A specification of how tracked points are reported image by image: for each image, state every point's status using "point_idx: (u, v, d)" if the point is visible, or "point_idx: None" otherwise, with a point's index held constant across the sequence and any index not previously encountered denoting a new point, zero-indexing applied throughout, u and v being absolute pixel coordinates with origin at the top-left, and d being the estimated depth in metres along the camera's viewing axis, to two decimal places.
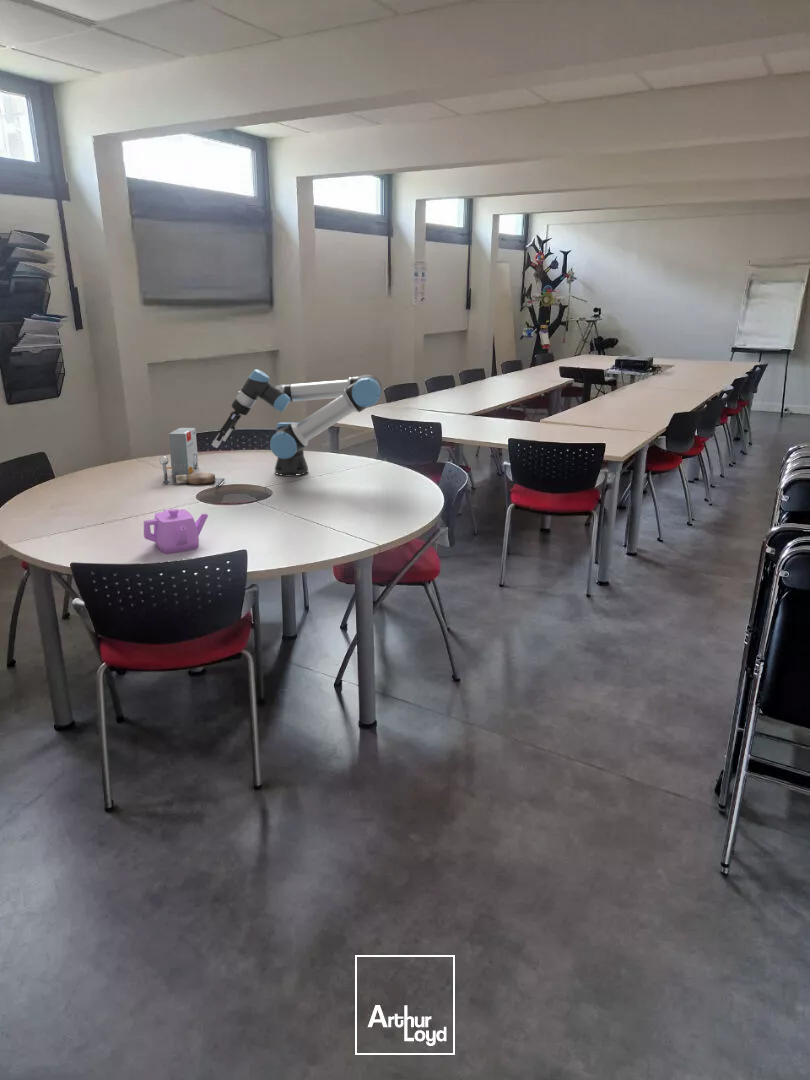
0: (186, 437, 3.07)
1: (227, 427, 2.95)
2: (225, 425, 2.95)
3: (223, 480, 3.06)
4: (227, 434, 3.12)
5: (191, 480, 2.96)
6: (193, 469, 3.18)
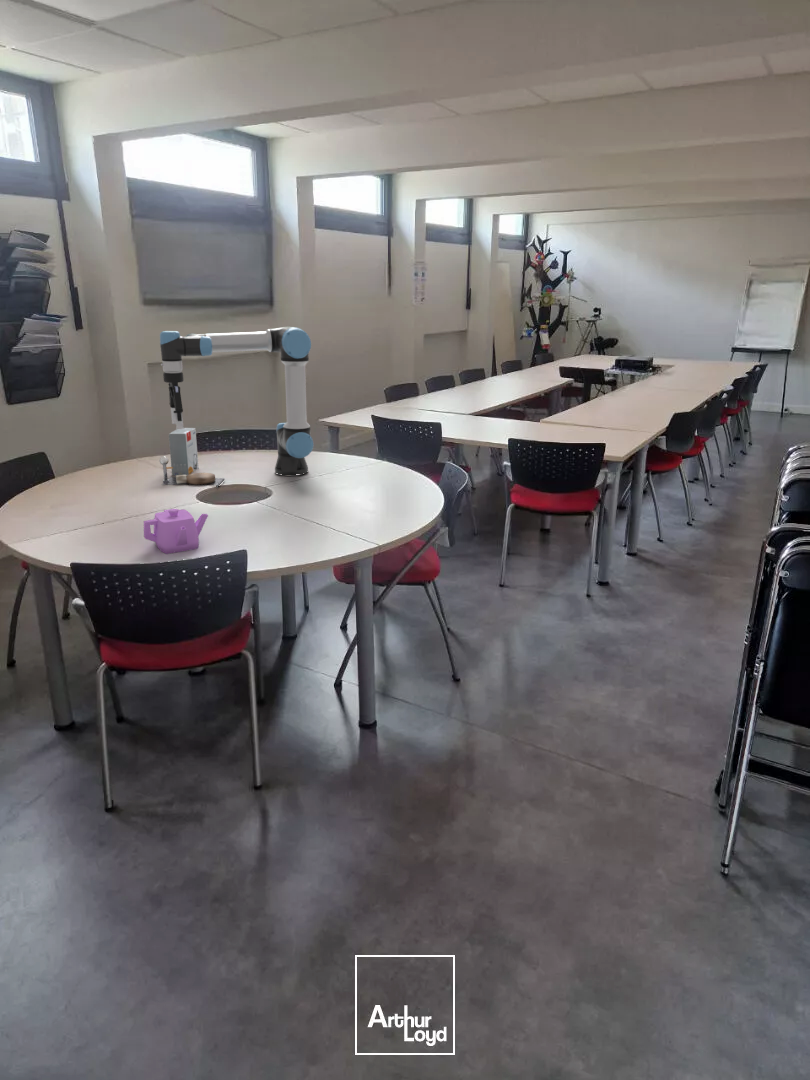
0: (186, 437, 3.07)
1: (180, 402, 2.76)
2: (176, 401, 2.75)
3: (223, 480, 3.06)
4: None
5: (191, 480, 2.96)
6: (193, 469, 3.18)
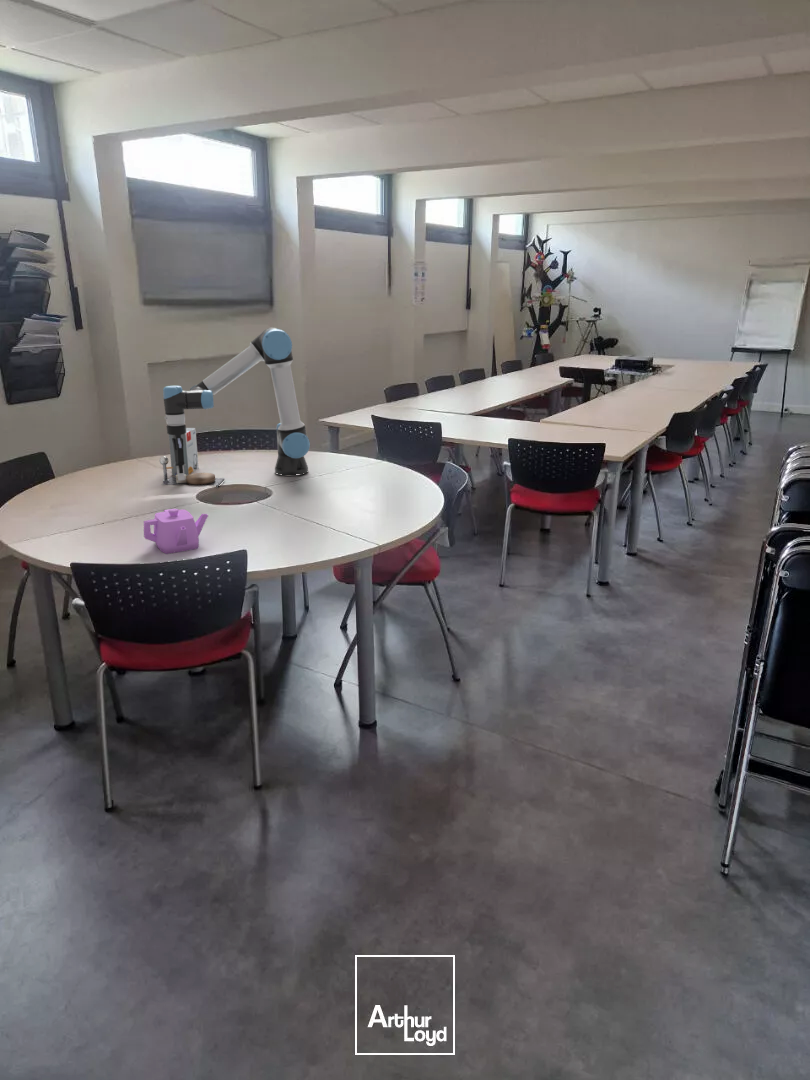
0: (186, 437, 3.07)
1: (182, 457, 2.91)
2: (179, 456, 2.90)
3: (223, 480, 3.06)
4: None
5: (190, 480, 2.97)
6: (193, 469, 3.18)
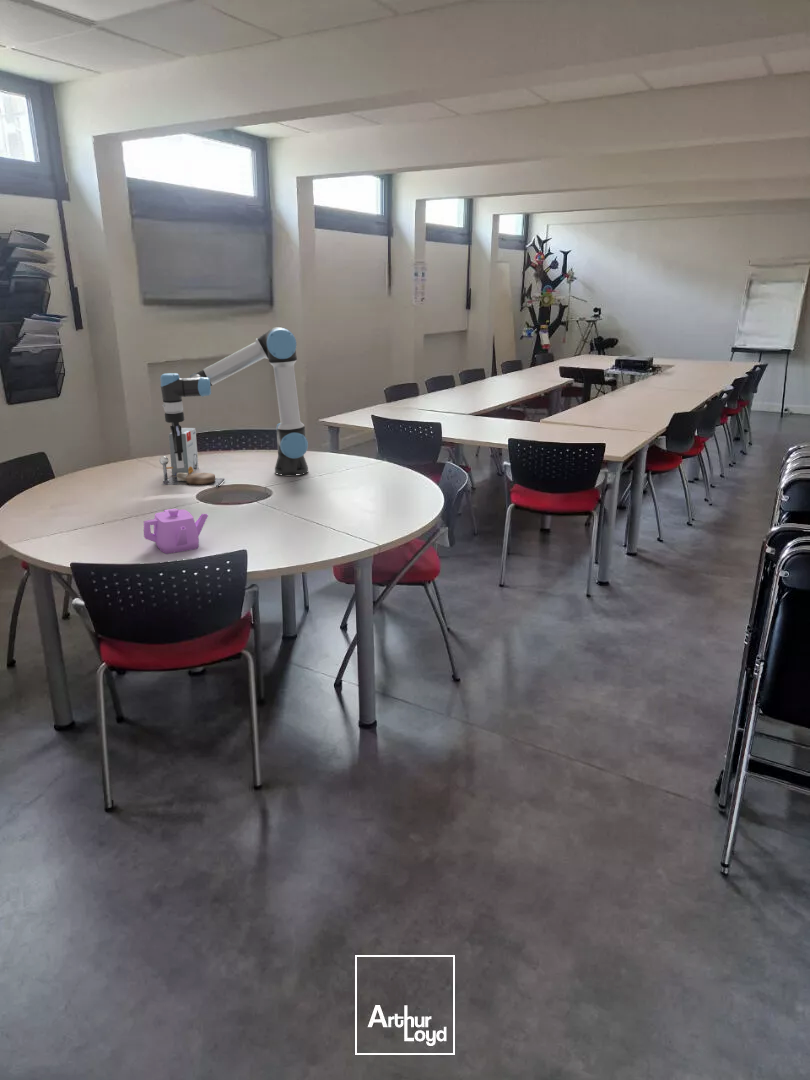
0: (186, 437, 3.07)
1: (180, 444, 2.91)
2: (177, 444, 2.91)
3: (223, 480, 3.06)
4: None
5: (187, 479, 2.98)
6: (193, 469, 3.18)
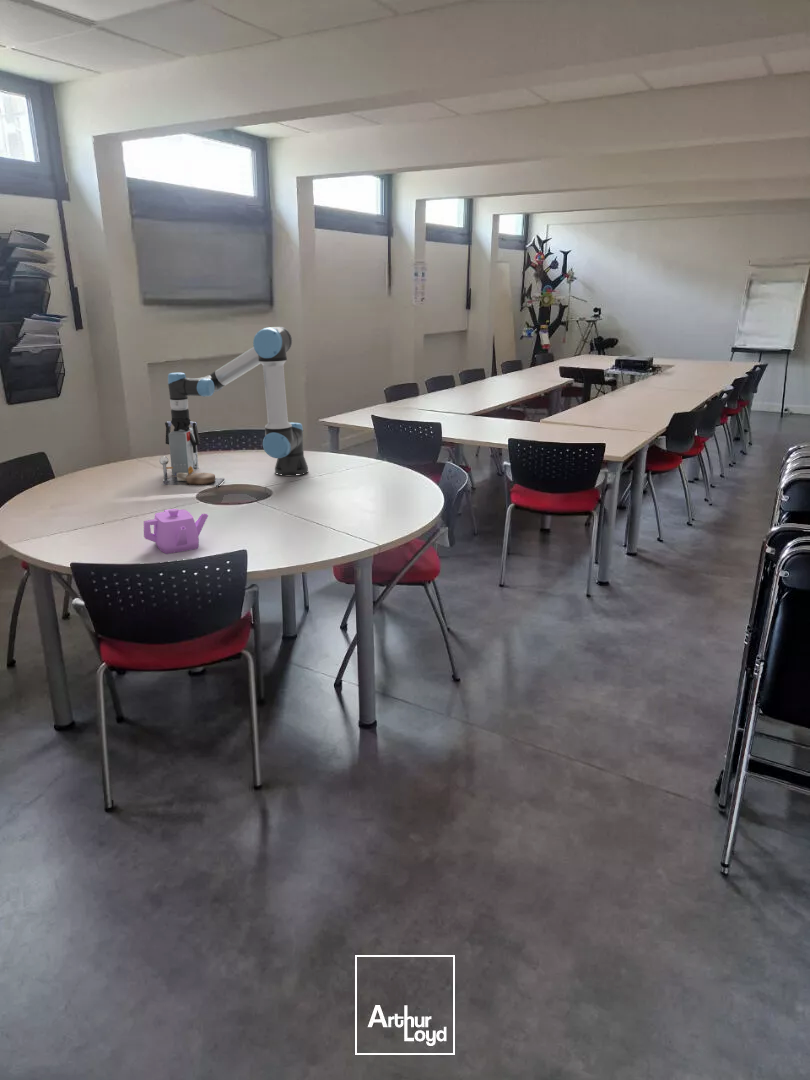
0: (186, 437, 3.07)
1: (198, 435, 3.14)
2: (197, 435, 3.13)
3: (223, 480, 3.06)
4: None
5: (187, 479, 2.98)
6: (193, 469, 3.18)
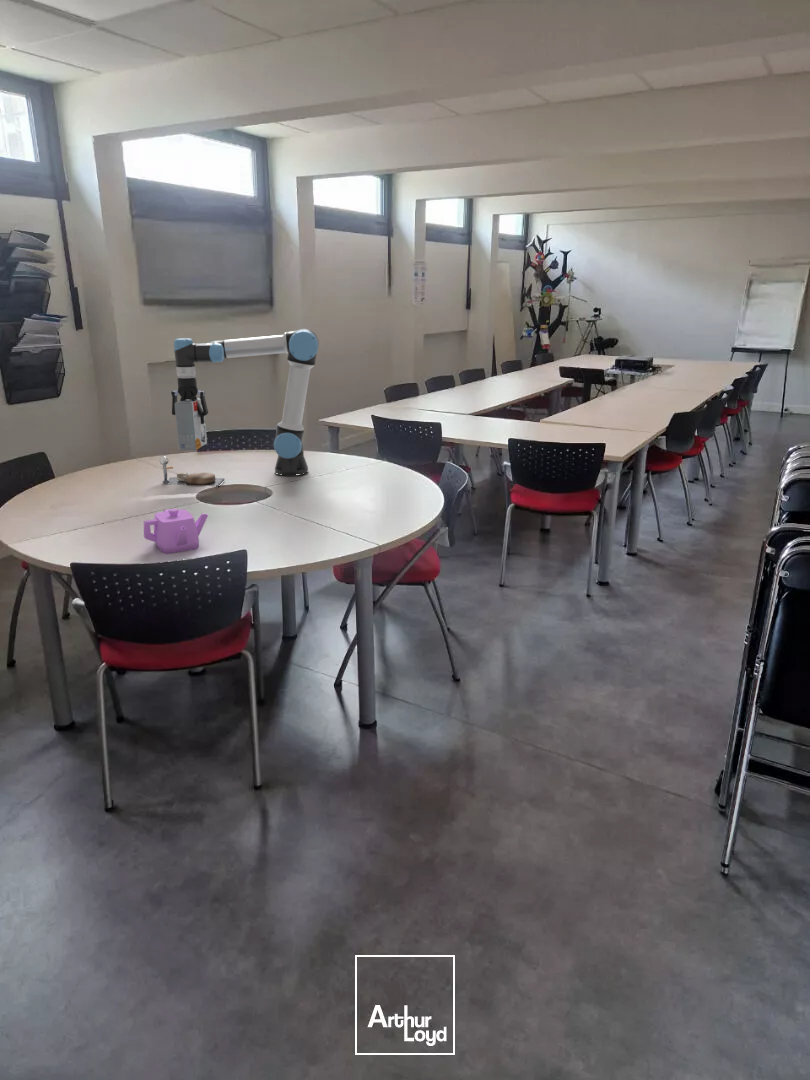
0: (193, 406, 2.91)
1: (206, 405, 2.97)
2: (205, 405, 2.96)
3: (223, 480, 3.06)
4: None
5: (187, 479, 2.98)
6: (201, 441, 3.02)
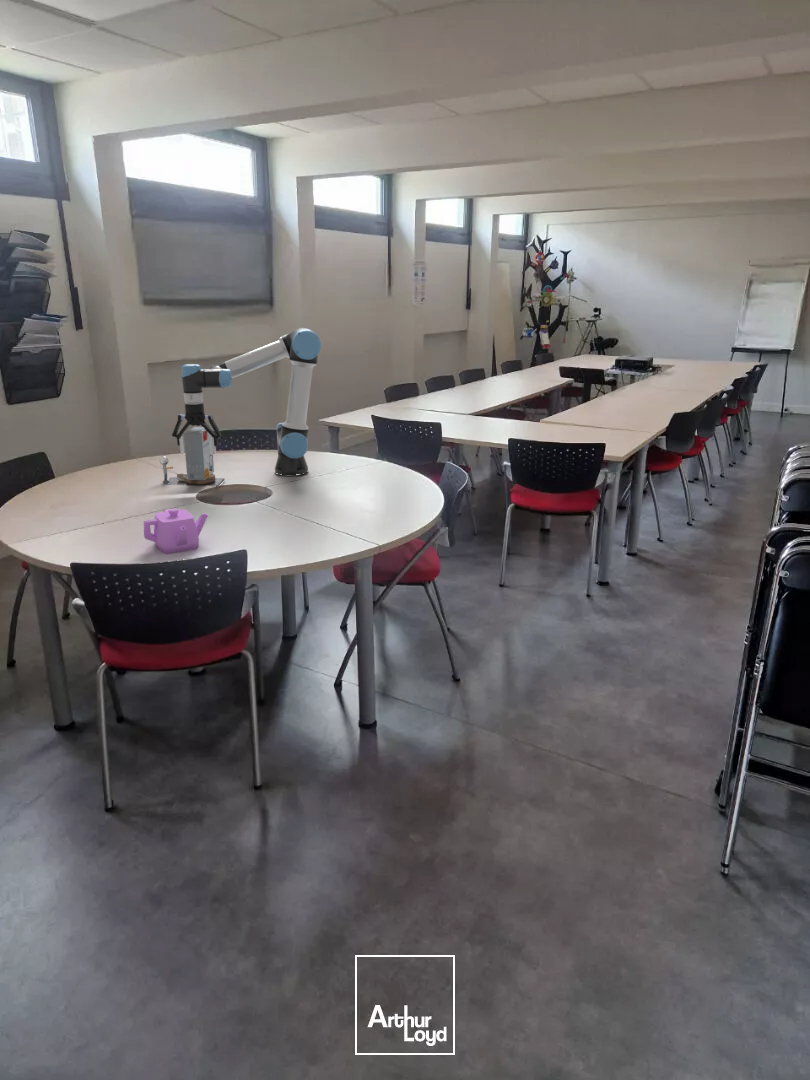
0: (202, 437, 2.90)
1: (217, 428, 2.95)
2: (216, 428, 2.94)
3: (223, 480, 3.06)
4: (183, 444, 2.98)
5: None
6: (209, 471, 3.00)
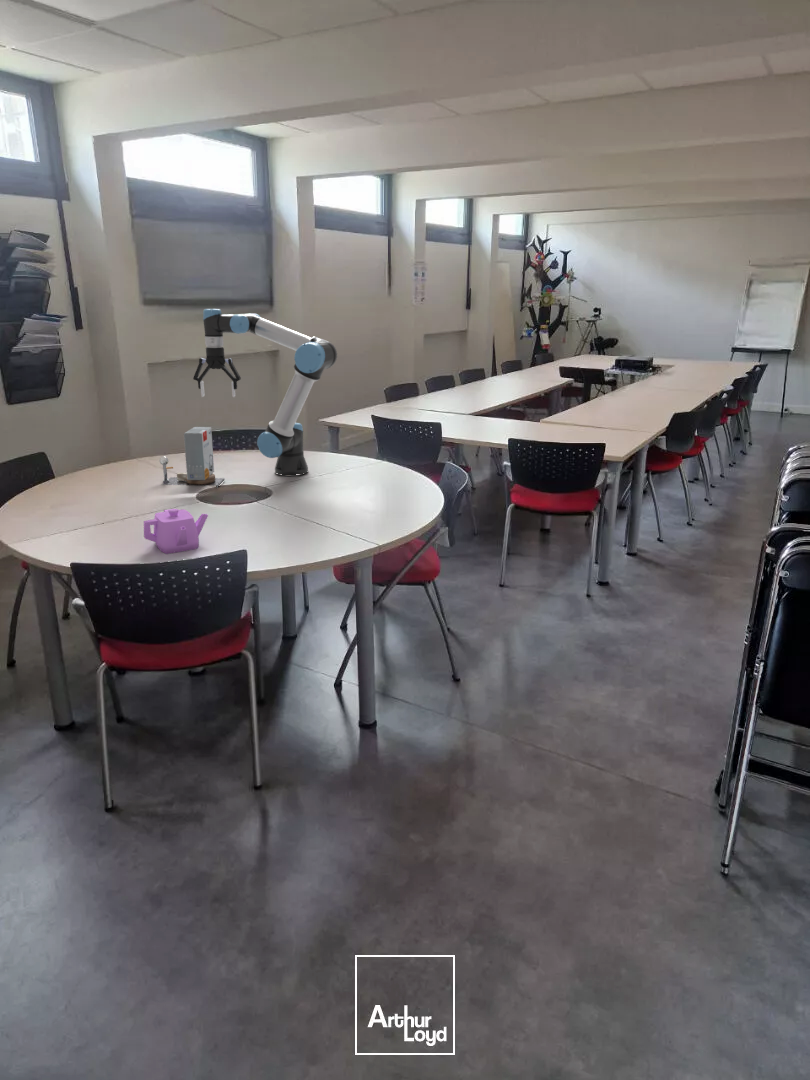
0: (202, 437, 2.90)
1: (236, 371, 3.06)
2: (236, 371, 3.05)
3: (223, 480, 3.06)
4: (203, 388, 3.09)
5: None
6: (209, 471, 3.00)
